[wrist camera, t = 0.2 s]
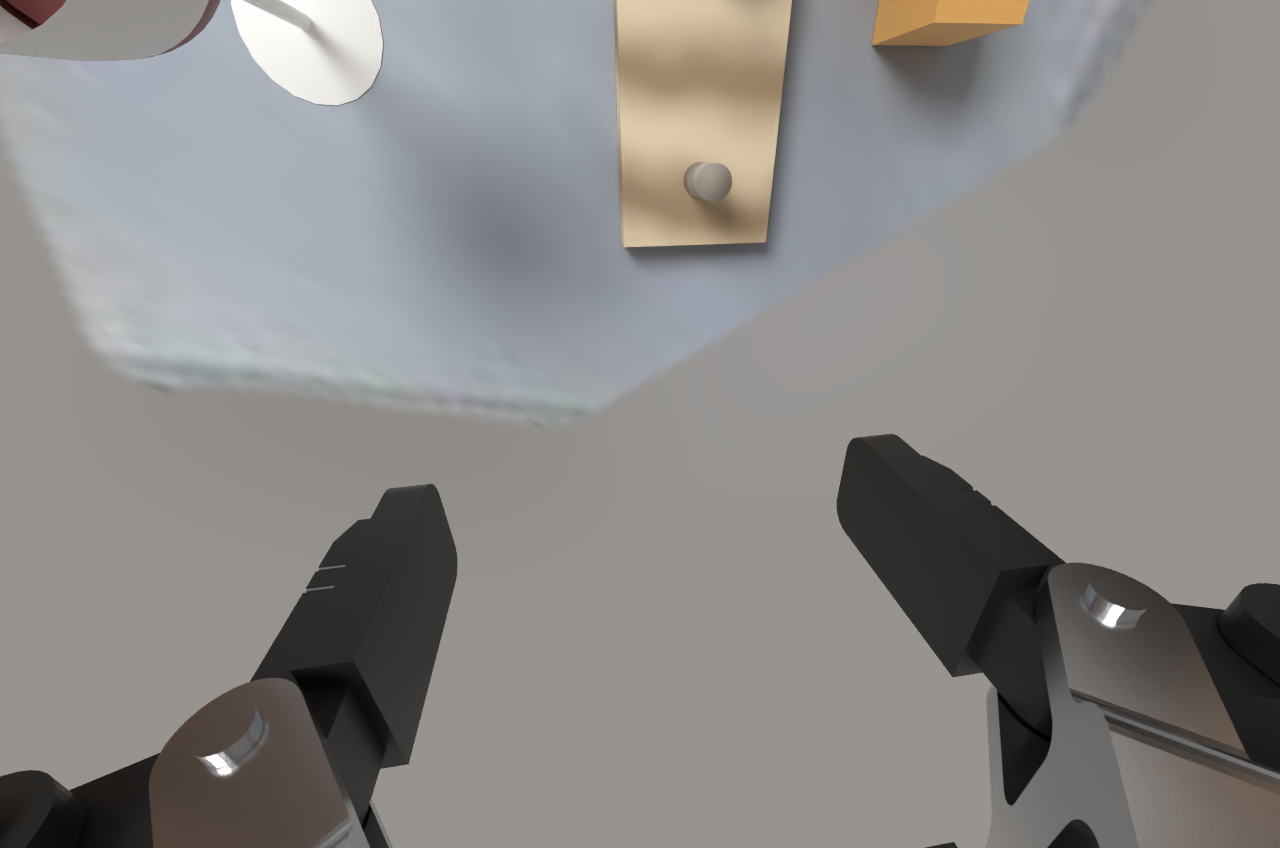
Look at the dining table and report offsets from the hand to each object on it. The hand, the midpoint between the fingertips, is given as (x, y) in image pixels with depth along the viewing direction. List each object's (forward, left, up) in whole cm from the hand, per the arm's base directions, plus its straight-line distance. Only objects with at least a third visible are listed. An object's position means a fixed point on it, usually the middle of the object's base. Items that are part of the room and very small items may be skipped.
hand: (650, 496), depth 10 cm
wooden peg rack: (-10, +7, -29) cm, 31 cm away
